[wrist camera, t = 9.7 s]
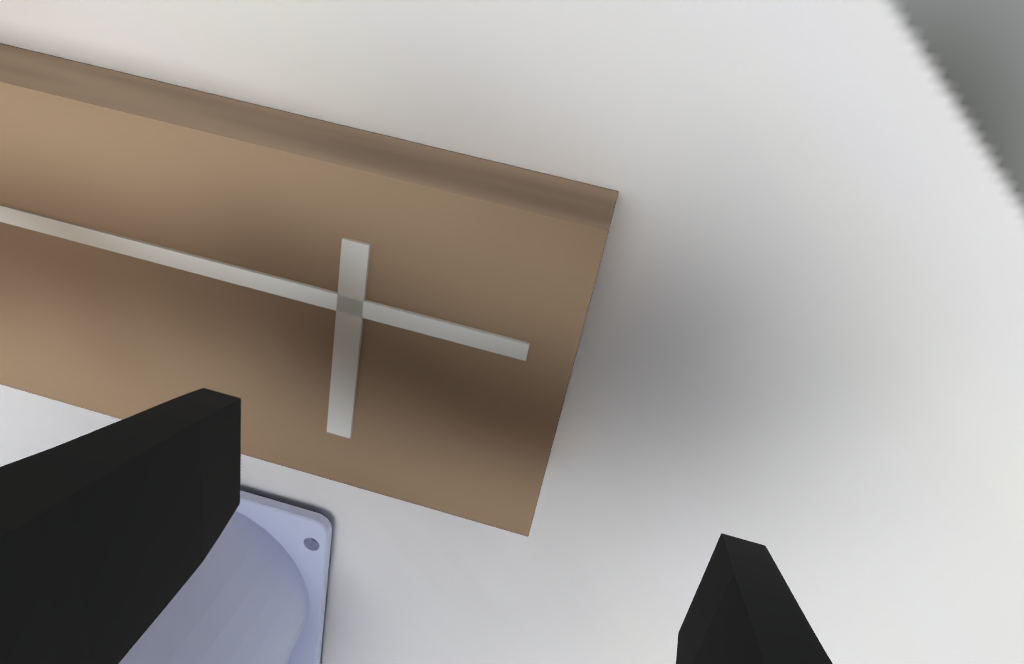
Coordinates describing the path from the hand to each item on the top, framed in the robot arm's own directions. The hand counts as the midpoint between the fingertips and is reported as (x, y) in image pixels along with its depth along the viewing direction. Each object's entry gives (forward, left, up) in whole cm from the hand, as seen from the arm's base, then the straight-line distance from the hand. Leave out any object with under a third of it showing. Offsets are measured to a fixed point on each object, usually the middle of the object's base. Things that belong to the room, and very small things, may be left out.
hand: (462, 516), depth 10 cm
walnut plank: (-1, +11, -8) cm, 14 cm away
